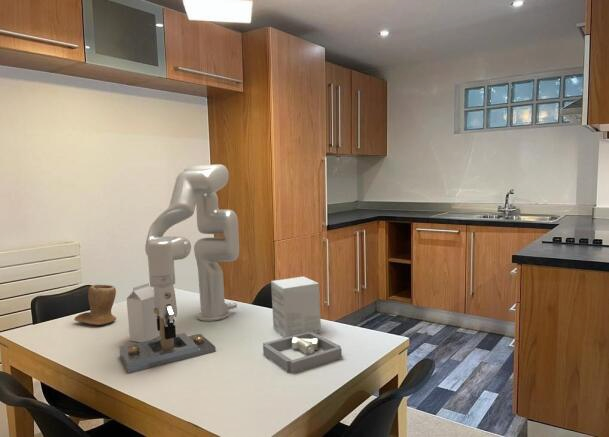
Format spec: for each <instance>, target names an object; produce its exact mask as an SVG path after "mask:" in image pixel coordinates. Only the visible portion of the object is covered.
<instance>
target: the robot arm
mask: <svg viewBox="0 0 609 437" xmlns="http://www.w3.org/2000/svg"><path fill="white" fill-rule="evenodd" d="M229 176H230V175H229V170H228V168H227V166H225V165H223V164H219V163H218V164H201V165H200V164H199V165H198V164H197V165H192V166H191V165H190V166H188V167H185V168H184V170H183V171H181V172H179V173H178V175H177V176H176V179H175V183H174V187H173V189H172V190H173V191H172V194H171V198H170V202H169V206H168V207H167V208H166V209H165V210H164V211H163V212H161V213H160V214H159V215H158V216H157V217H156V219H155V220H154V221H153V222H152V223H151V225H150V227H149V230H148V232H147V236H146V240H145V244H144V245H145V246H144V250H145V254H146V256H147V261H148V262H147V264H148V276H149V286H150V287H151V288H152V290H153V291H154V306H155V308H157V309H158V310H159V315H158V314H157V330H158V331H160V318H159V316H160V317H161V318H162V319H164V323H165V326H164V333H165V339H171V338H175V337H176V335H177V334H176V333H177V332H176V322H175V317H177V316H178V306H177V299H176V291H175V286H174V285H176V275H175V272H176V271H175V261H177V260H179V261H180V260H184V259H186V258H187V257H188V256H189V255H190V253H191V252H192V251H191V250H192V244H191V241H190V240H189V238H187V237H184V236H178V235H177V236H164V234H165V233H166V232H167V231H168V230H169V229H170V228H172V227H173V226H175V225H176V224H179V223H182V222H183V221H186V220H187V219H189V218H191V217H192V216H193V215H194V213H195V210H196V225H197V230H198V232H199V233H200V234H203V235H223V236H224V237H215V236H214V237H202V238H200V239H197V240H196V241H195V243H194V246H193V253H194V257H195V260H196V266H197V273H198V274H197V276H198V290H199V303H200V306H199V307H200V312H198V313H197V315H196V318H197V319H198V320H199V321H204V322H214V321H219V320H220V321H221V320H224V319H226V318H227V317H229V316H230V310H233V309H237V307H238V306H237V305H238V304H237V303H236V302H235V303H226V299H225V286H224V285H225V284H224V272H223V269H222V267H221V266H220V264H219V263H220V262H221V263H222V262H223V263H224V262H227V263H228V262H231V263H232V262H234V261H236V260H238V258H239V255H240V242H239V241H240V234H239V219H238V215H237V213H236V212H235V211H234V210H232V209H229V208H228V209H220V208H219V198H218V194H217V192H218V191H219V190H222V189H223V188H224V187H225V186H227V184H228V182H229ZM166 315H168V316H166ZM166 319H168V320H166Z"/></svg>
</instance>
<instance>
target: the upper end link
mask: <svg viewBox="0 0 609 437" xmlns="http://www.w3.org/2000/svg"><path fill="white" fill-rule="evenodd" d="M188 336H189V335H187V334H186V333H185V332H182V333H178V334H176V337H175V338H173V339H174V340H173V341H174V342H177V341H180V342H181V343H182V344H183V346H184V347H181V346H179V347H176V348H173V349H172V350H167V351H163V352H162V351H160V352H156V353H155V351H153V350H152V349H151V347H155V346H160V345H161V341H160V337H158V338H155V339H153V340H150V341H145V342H137V343H132V344H128V345H123V346H119V348H118V349H119V357H120V359H121V361H122V364H123V365H124V367H125V369H126V371H127V373H128V374H131V373H136V372H139V371H143V370H146V369H150V368H149V366H148V363H151V362H155V361H160V360H164V359H168V358H172V357H176V356H180V355H184V354H188V353H192V352H196V351H198V346H197V345H196V344H195V343H194V342H193V341H192V340H191V339H190V338H189V337H188Z"/></svg>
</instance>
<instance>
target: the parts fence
mask: <svg viewBox="0 0 609 437" xmlns="http://www.w3.org/2000/svg"><path fill="white" fill-rule="evenodd" d="M293 337H296V338H310V339H313V338H318V339H319V349H321V351H319V352H315V353H312V354H309V355H304V356H302V357H299V358H295V359H291V358H290V357H288V356H286V355H285V354H284V353H282V352H280V351H282V350H283V351H284V350H286V349H290V348H291V349H292V339H293ZM262 349H263V350H262V351H263V356H265V357H266V358H267V359H269V360H270V361H272V362H273V363H274V364H275V365H277V366H279V367H280V368H282V370H284V371H286V372H287V373H289V372H290V373H291V374H295V373H299V372H302V371H304V370H308V369H311V368H312V369H313V368H314V367H318V366H322V365H324V364H328V363H331V362H335V361H338V360H341V359H343V356H342V348H341V345H339V344H337V343H336V342H333V341H331V340H330V339H328V338H325V337H323V336H322V335H319V334H318V333H314V332H312V333H311V332H305V333H301V334H297V335H293V336H289V337H285V338H284V337H282V338H279V339H278V338H277V339H275V340H271V341H266V342H263V343H262ZM322 350H323V351H322Z"/></svg>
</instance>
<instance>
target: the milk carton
mask: <svg viewBox="0 0 609 437" xmlns="http://www.w3.org/2000/svg"><path fill="white" fill-rule="evenodd" d="M126 306H127V321H128V322H127V323H128V331H129V332H128V333H129V341H130V342H137V343H141V342H145V341H150V340H154V339H158V338H160V331H158V330H157V314H155V313H154V308H155V306H154V290H153V288H152V287H151V286H150V282H147V283H144V284H141V285H138V286H135V287H133V288H132V292H131V293H130V294H129V295H128V297H126Z"/></svg>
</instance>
